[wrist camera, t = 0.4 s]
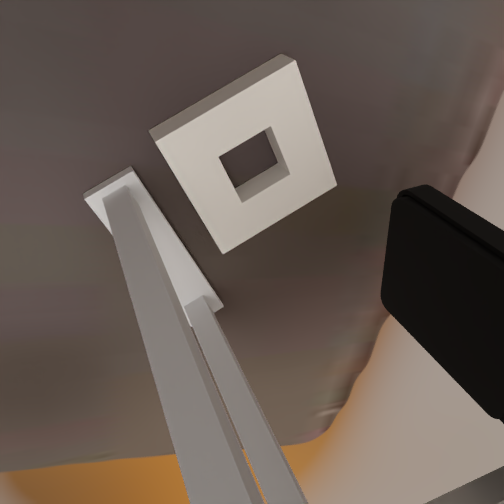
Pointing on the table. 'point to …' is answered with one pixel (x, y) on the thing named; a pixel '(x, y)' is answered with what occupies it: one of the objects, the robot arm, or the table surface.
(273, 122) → the socket
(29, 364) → the table surface
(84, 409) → the table surface
